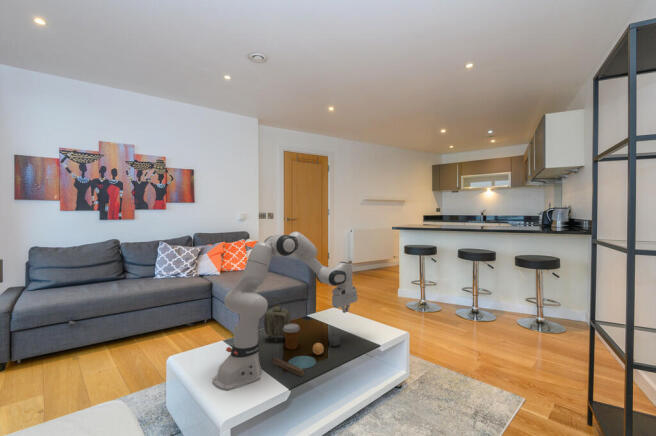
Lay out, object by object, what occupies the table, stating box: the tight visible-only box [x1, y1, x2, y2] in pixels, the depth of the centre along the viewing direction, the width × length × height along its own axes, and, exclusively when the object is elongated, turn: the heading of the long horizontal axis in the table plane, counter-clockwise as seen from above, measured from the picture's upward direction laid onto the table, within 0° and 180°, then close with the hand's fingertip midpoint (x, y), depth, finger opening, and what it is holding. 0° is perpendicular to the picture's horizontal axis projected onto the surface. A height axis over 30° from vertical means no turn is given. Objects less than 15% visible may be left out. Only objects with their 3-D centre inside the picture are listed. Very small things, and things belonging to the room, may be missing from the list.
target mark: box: [287, 355, 317, 370], centre depth 159 cm, size 14×14×1 cm
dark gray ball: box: [329, 334, 341, 347], centre depth 179 cm, size 6×6×6 cm
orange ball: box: [312, 342, 325, 356], centre depth 168 cm, size 6×6×6 cm
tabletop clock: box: [263, 298, 292, 343], centre depth 188 cm, size 14×9×25 cm, turn 84°
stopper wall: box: [272, 357, 305, 377], centre depth 152 cm, size 2×20×2 cm, turn 48°
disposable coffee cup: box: [283, 323, 301, 350], centre depth 178 cm, size 10×10×12 cm
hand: (345, 312), depth 186 cm, fingers closed
